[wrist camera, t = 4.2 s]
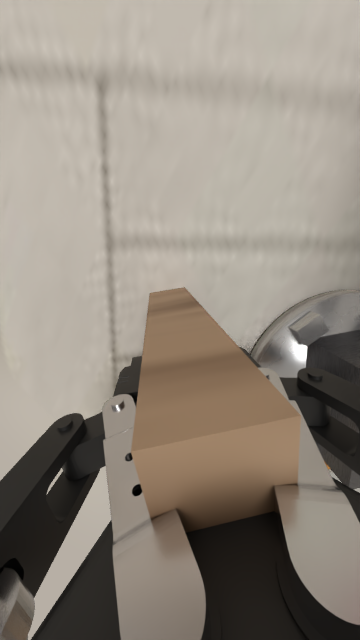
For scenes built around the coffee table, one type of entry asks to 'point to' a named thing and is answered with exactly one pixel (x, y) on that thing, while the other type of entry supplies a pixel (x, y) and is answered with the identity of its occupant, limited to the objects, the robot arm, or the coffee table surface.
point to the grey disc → (318, 351)
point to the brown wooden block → (207, 421)
